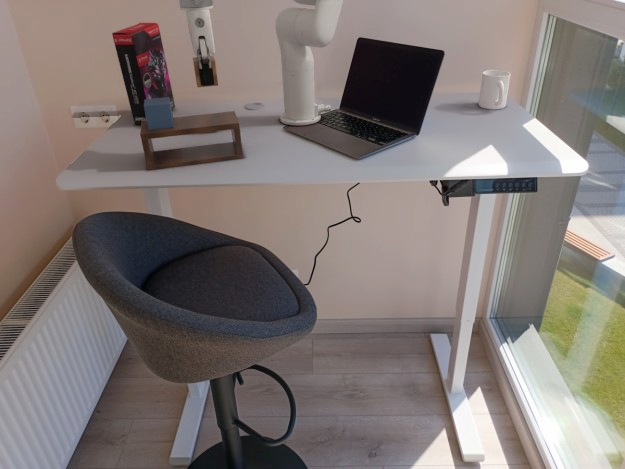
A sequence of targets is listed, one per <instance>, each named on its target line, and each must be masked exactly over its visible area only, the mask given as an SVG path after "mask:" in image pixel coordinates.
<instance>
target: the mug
mask: <svg viewBox="0 0 625 469" xmlns="http://www.w3.org/2000/svg"><path fill="white" fill-rule="evenodd" d="M511 76H512V74H511V72H509V71H507V70H503V69H487V70H483V71H482V75H481V80H480V81H481V82H480V89H479V95H478V106H479V107H480V108H482V109H485V110H494V111H496V110H502V109H503V108H505V107H506V105H507V99H508V94H509V87H510V81H511Z"/></svg>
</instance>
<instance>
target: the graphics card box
mask: <svg viewBox="0 0 625 469" xmlns="http://www.w3.org/2000/svg"><path fill="white" fill-rule="evenodd" d="M111 36H112V39H113V42H114V47H115V52H116V56H117V59H118V63H119V67H120V68H119V69H120V72H121V75H122V80H123V83H124V88H125V91H126V95H127V99H128V103H129V108H130V111H131V115H132V119H133V122H134V125H137V126H139V125H140V126H141V123H142V121H147V120H146V115H145V110H144V101H145V99H154V98H164V97H169V99H170V104H171V110H172V111H173V110H174V109H176V104H175V100H174V93H173V88H172V84H171V79H170V73H169V70H168V64H167V60H166V55H165V54H166V53H165V49H164V44H163V40H162V36H161V30H160V26H159V23H157V22H139V23H137V24H133V25H131V26H128V27H125V28H123V29H120V30H117V31H114V32H112V33H111Z"/></svg>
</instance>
